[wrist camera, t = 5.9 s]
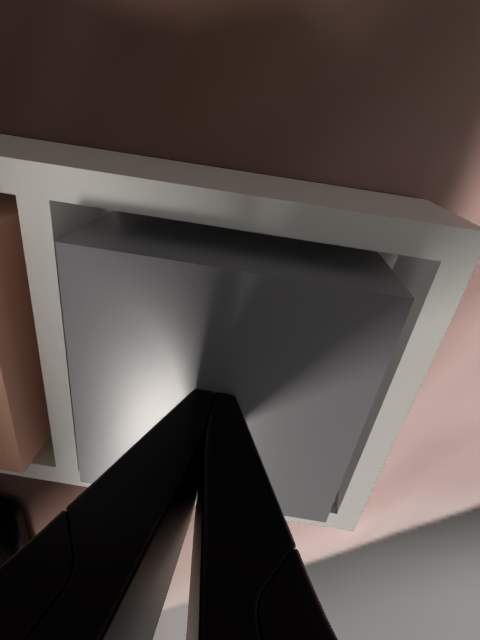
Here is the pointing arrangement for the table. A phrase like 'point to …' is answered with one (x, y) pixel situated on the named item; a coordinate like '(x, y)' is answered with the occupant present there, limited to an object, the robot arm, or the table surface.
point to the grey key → (227, 341)
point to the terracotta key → (18, 353)
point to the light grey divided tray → (246, 215)
